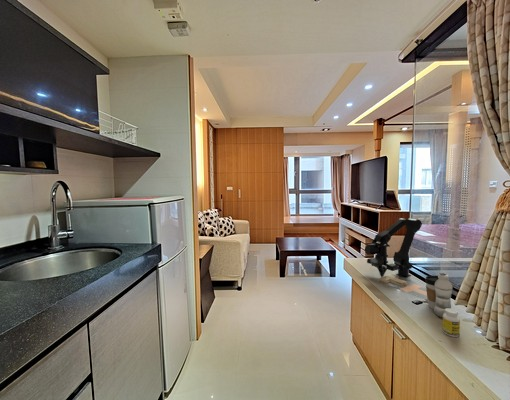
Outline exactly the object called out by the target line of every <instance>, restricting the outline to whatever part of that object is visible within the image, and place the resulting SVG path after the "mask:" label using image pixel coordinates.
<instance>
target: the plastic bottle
mask: <svg viewBox="0 0 510 400" xmlns="http://www.w3.org/2000/svg"><path fill="white" fill-rule="evenodd" d="M437 276H438V278H439V279H438V280H437V281H436V282H435V291H436V301H435V306H434V309H433V312H434V313H435V315H436V316H438V317H439V318H442V319H443V314H444V313H445V309H446V308H450V309H452V302H451V299H452V298H451V297H452V293H453V285H452V283H451V282H450V281H449V280H450V278H449V274H447V273H443V272H438V273H437Z"/></svg>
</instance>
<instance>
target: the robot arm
mask: <svg viewBox="0 0 510 400" xmlns="http://www.w3.org/2000/svg"><path fill="white" fill-rule="evenodd" d="M422 225H423V223H422V221H421V220H420V219H416V218H408V219H407V218H401V217H400V218H398V219H397V220H396V221H395V222H394V223H393V224H392V225H390V226H389V227H388V228H386V230H384V231H380V232H378V233H377V234H376V235H375V236H374V239H372V242H371V243H367V244H366V246H365V248H364V252H365V254H366V255H368V256H370V255H375V256H374V257H368V258H367V259H366V263H367V264H370V266H371V267H375V268H377V270H378V273H379V275H380V278H381V277H384V276H385V274H386V272H387V270H388V271H392V272H395V271H397V273H395V275H396V276H398V277H401V278H404V279H406V278H409V277H412V274H410V269H413V264H412V263H410V255H409V252H410V249H411V246H412V243H413V240H414V238H415V235H416V234H417V232H419V231H420V229H421V228H422ZM403 227H405V228H406V229H405V230H406V232H405V234H404V236H403V240H402V242H401V245H400V248H399V250H398V251H395V252H394V254H393V262H394V263H389V260H388V257H389V254H388V252H387V251H388V250H387V249H388V247H389V248H390V247H391V245H390V244H388V243H389V242H390V241H391V238H392V237H393V236H394V235H395V234H396V233H397V232H399V231H400V230H401V229H402V228H403Z"/></svg>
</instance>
